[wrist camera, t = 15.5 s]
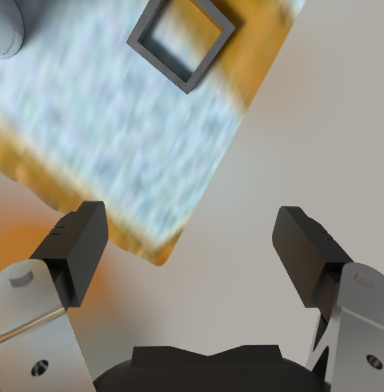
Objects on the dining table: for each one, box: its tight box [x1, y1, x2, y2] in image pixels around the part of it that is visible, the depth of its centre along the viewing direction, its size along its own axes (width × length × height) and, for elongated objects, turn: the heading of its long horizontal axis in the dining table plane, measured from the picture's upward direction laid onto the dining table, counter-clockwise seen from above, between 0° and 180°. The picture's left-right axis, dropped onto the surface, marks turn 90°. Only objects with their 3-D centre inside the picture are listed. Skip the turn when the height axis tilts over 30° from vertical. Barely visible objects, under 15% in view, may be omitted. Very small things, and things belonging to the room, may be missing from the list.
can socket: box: [126, 0, 236, 95], centre depth 31 cm, size 10×10×2 cm
